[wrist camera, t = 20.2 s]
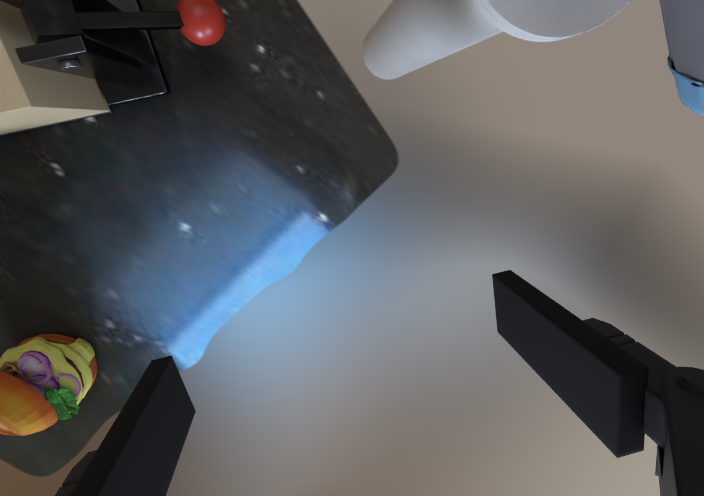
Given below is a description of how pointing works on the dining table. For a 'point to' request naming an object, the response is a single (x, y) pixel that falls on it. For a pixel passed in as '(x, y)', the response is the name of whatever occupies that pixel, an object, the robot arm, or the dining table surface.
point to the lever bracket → (104, 56)
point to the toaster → (39, 85)
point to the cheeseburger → (43, 382)
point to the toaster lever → (122, 20)
